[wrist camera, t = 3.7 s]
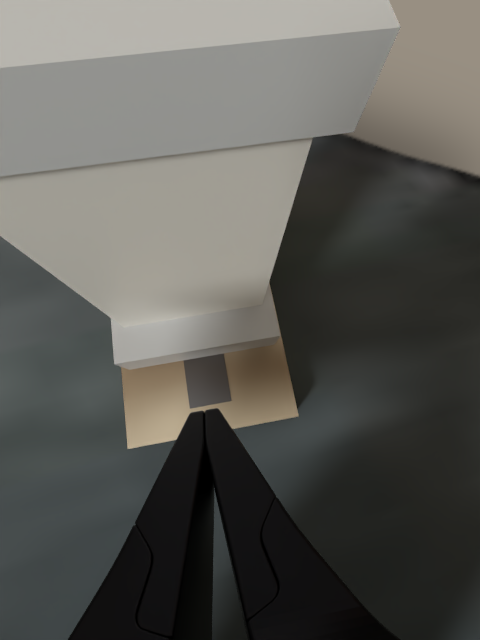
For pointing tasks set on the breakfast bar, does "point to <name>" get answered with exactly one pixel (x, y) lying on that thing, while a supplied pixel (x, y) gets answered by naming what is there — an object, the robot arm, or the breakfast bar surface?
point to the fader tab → (173, 151)
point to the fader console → (207, 392)
